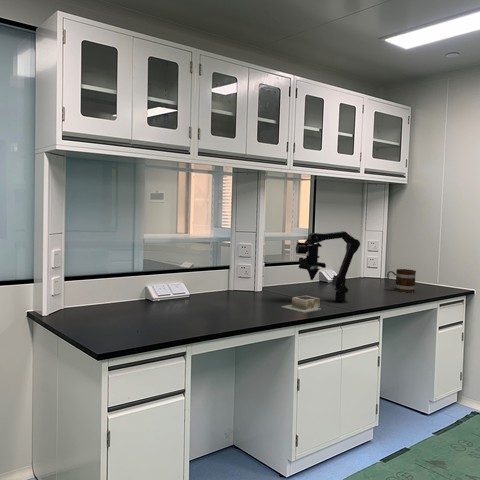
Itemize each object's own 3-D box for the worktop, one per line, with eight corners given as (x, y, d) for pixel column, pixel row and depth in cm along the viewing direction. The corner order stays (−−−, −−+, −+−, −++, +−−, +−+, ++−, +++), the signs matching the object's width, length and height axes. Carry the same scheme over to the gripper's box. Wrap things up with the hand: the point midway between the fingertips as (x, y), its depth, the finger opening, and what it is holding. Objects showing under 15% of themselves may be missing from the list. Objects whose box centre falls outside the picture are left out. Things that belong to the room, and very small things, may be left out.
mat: (299, 304, 274) (299, 303, 274) (321, 309, 262) (321, 308, 262) (281, 307, 264) (281, 306, 264) (303, 312, 252) (303, 312, 252)
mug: (412, 290, 339) (413, 269, 338) (417, 293, 326) (418, 272, 325) (384, 288, 341) (385, 268, 340) (388, 292, 328) (389, 270, 327)
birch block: (306, 295, 272) (292, 297, 264) (319, 298, 265) (306, 300, 257) (305, 304, 273) (291, 306, 265) (319, 307, 265) (305, 309, 257)
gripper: (312, 252, 294) (311, 277, 295) (292, 253, 281) (291, 279, 282) (327, 254, 285) (325, 279, 286) (306, 255, 273) (305, 282, 274)
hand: (311, 280), depth 283 cm, fingers closed
